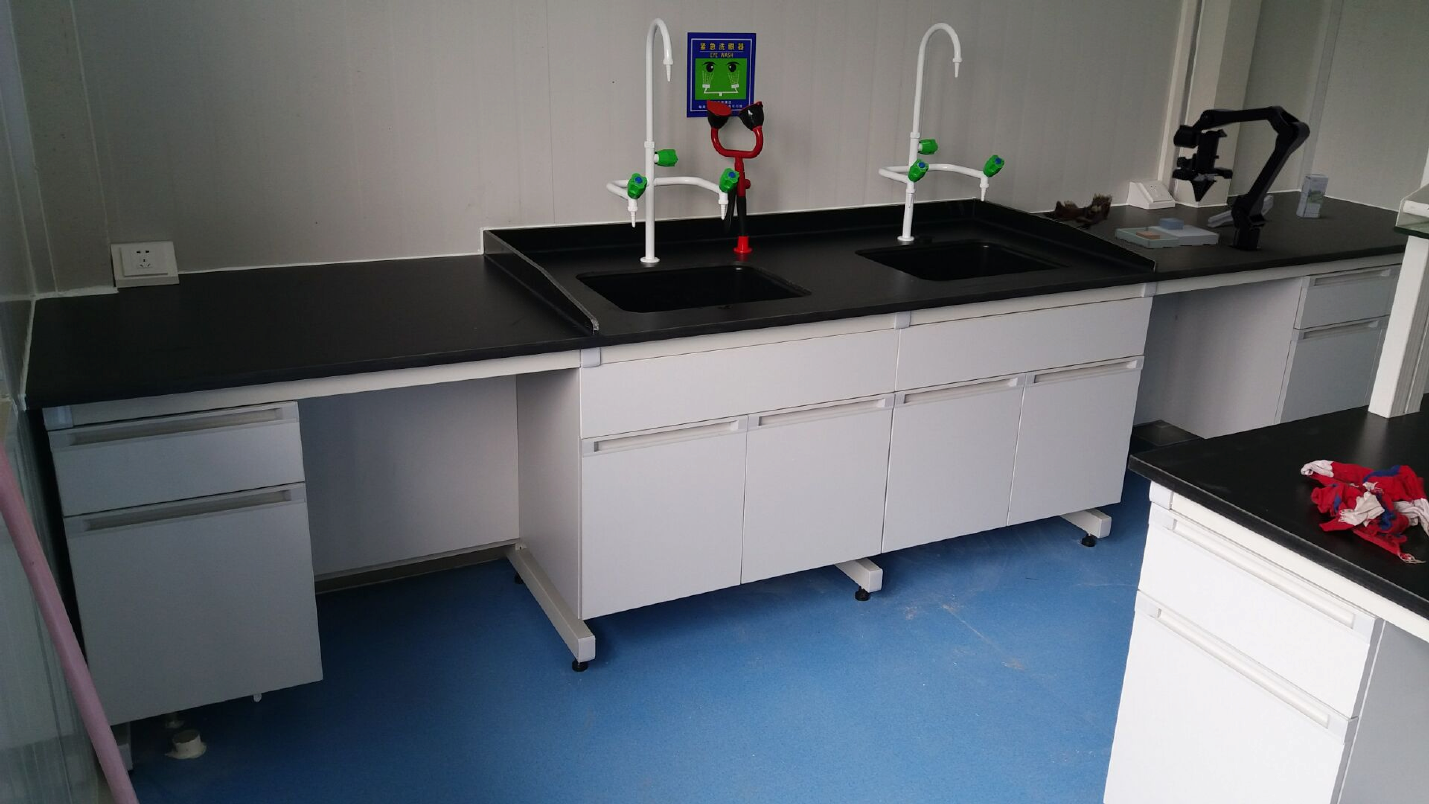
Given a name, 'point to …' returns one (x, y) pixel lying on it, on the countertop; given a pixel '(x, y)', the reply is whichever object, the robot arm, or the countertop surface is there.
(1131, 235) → the tray
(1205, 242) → the plate
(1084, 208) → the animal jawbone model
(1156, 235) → the terracotta tile
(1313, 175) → the syrup box
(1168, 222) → the slate blue tile
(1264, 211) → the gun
